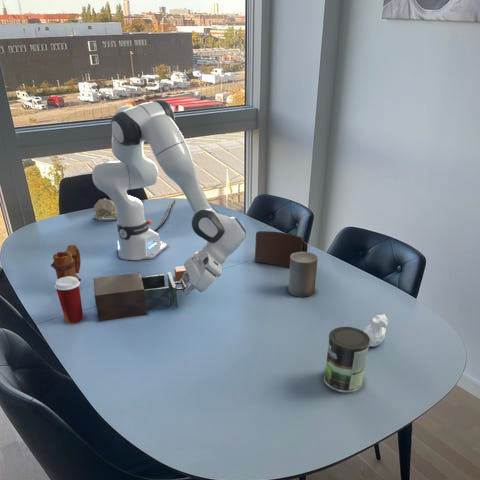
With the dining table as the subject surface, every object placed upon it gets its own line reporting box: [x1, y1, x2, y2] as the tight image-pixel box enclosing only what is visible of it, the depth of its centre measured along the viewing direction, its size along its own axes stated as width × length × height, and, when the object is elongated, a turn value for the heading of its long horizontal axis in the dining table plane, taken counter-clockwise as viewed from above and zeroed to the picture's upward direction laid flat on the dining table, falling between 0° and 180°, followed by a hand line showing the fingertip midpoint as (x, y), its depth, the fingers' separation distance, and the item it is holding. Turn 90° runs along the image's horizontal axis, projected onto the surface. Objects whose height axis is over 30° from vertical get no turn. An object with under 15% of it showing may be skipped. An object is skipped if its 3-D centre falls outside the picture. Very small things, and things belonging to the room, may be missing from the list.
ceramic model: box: [93, 197, 118, 221], centre depth 241 cm, size 14×11×10 cm
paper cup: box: [54, 276, 84, 324], centre depth 150 cm, size 8×8×14 cm
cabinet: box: [92, 272, 148, 322], centre depth 157 cm, size 16×14×10 cm
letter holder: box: [254, 230, 309, 268], centre depth 191 cm, size 10×20×14 cm, turn 68°
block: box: [174, 265, 190, 283], centre depth 178 cm, size 5×5×5 cm
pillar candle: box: [288, 251, 319, 298], centre depth 167 cm, size 10×10×15 cm
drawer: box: [141, 271, 188, 311], centre depth 160 cm, size 19×12×8 cm, turn 106°
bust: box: [363, 313, 389, 348], centre depth 139 cm, size 12×8×11 cm
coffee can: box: [323, 326, 370, 394], centre depth 122 cm, size 10×10×14 cm
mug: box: [50, 244, 82, 285], centre depth 170 cm, size 15×8×15 cm, turn 168°
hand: (182, 287), depth 162 cm, fingers closed on drawer, 6 cm apart
